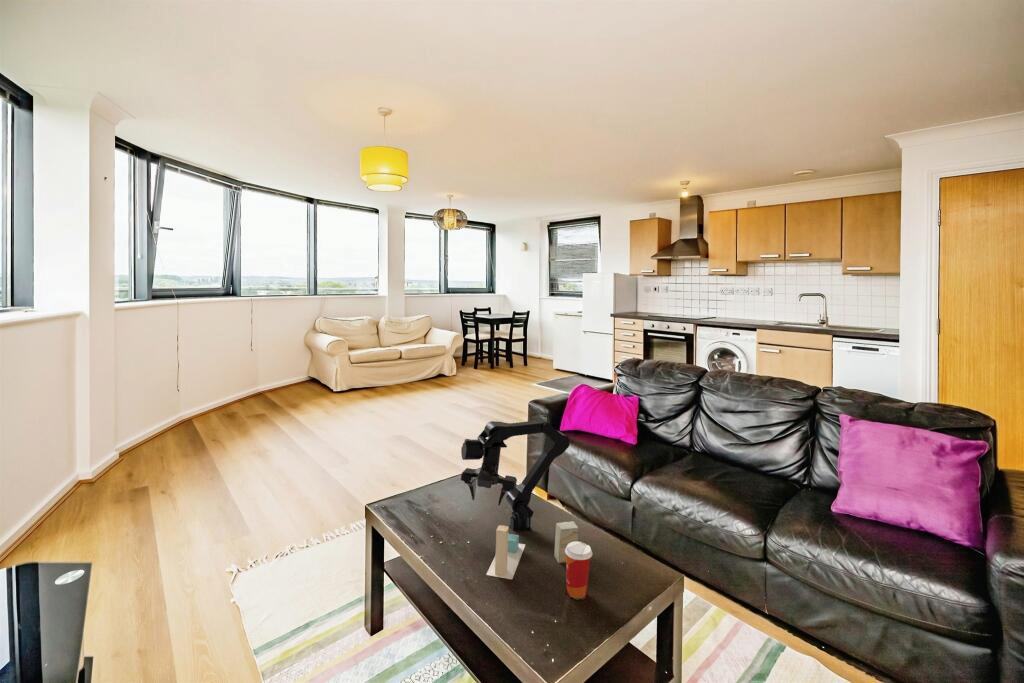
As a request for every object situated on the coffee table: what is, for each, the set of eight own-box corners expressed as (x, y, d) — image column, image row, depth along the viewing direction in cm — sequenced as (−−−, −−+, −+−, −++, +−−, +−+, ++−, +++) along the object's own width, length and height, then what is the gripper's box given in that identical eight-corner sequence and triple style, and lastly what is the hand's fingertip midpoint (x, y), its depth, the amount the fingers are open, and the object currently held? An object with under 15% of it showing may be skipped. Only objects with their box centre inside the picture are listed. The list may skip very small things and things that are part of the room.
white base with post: (502, 543, 158) (503, 501, 156) (525, 547, 156) (527, 504, 155) (485, 577, 139) (487, 530, 138) (512, 582, 138) (513, 534, 136)
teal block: (506, 544, 156) (507, 533, 155) (518, 546, 155) (518, 535, 154) (503, 551, 152) (504, 539, 151) (515, 553, 151) (516, 541, 150)
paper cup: (572, 581, 139) (574, 537, 137) (595, 593, 134) (597, 547, 132) (557, 594, 133) (559, 548, 131) (580, 606, 128) (583, 559, 126)
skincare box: (558, 566, 146) (560, 529, 145) (553, 558, 151) (555, 522, 149) (577, 563, 148) (579, 527, 147) (571, 555, 152) (573, 520, 151)
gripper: (458, 461, 154) (453, 506, 156) (513, 471, 151) (507, 517, 152) (467, 451, 165) (463, 494, 167) (519, 460, 162) (514, 504, 163)
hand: (486, 502), depth 162 cm, fingers open, 9 cm apart
